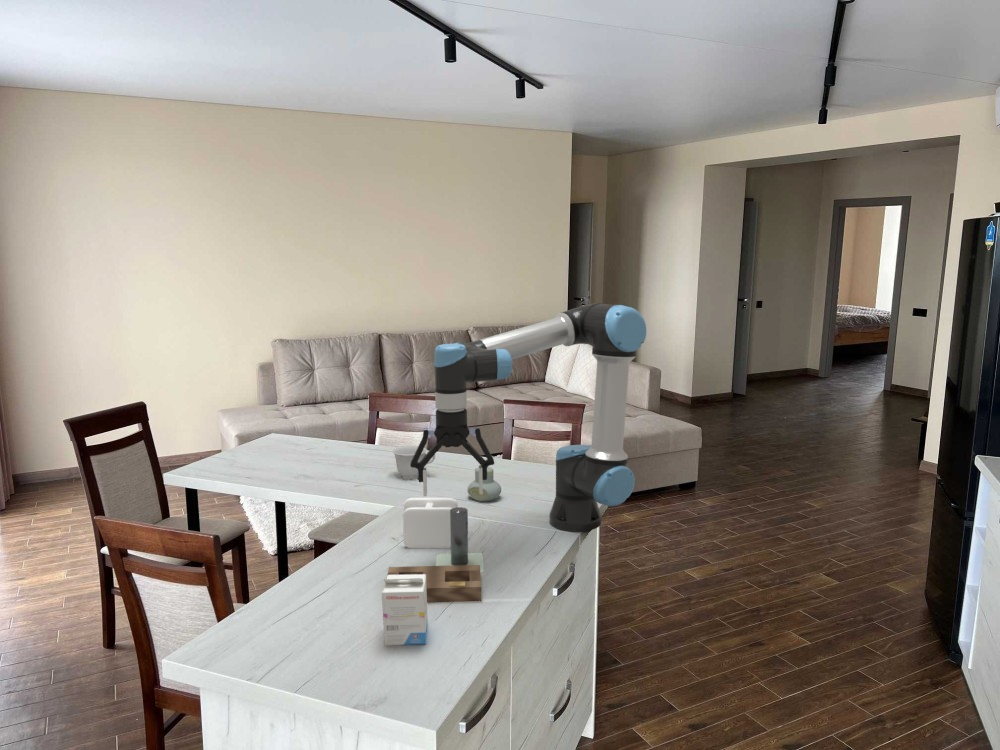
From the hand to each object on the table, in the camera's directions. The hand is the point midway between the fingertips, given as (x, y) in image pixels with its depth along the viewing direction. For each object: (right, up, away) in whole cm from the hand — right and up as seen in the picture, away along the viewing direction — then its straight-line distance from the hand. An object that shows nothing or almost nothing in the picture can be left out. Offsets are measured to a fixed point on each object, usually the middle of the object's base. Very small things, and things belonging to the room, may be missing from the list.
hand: (453, 493), depth 180 cm
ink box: (-8, -25, -27) cm, 38 cm away
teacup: (-19, -7, +80) cm, 83 cm away
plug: (+1, -19, +7) cm, 20 cm away
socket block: (-4, -22, -7) cm, 23 cm away
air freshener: (+6, -11, +58) cm, 59 cm away
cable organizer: (-8, -17, +22) cm, 29 cm away
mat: (+1, -19, +7) cm, 21 cm away
